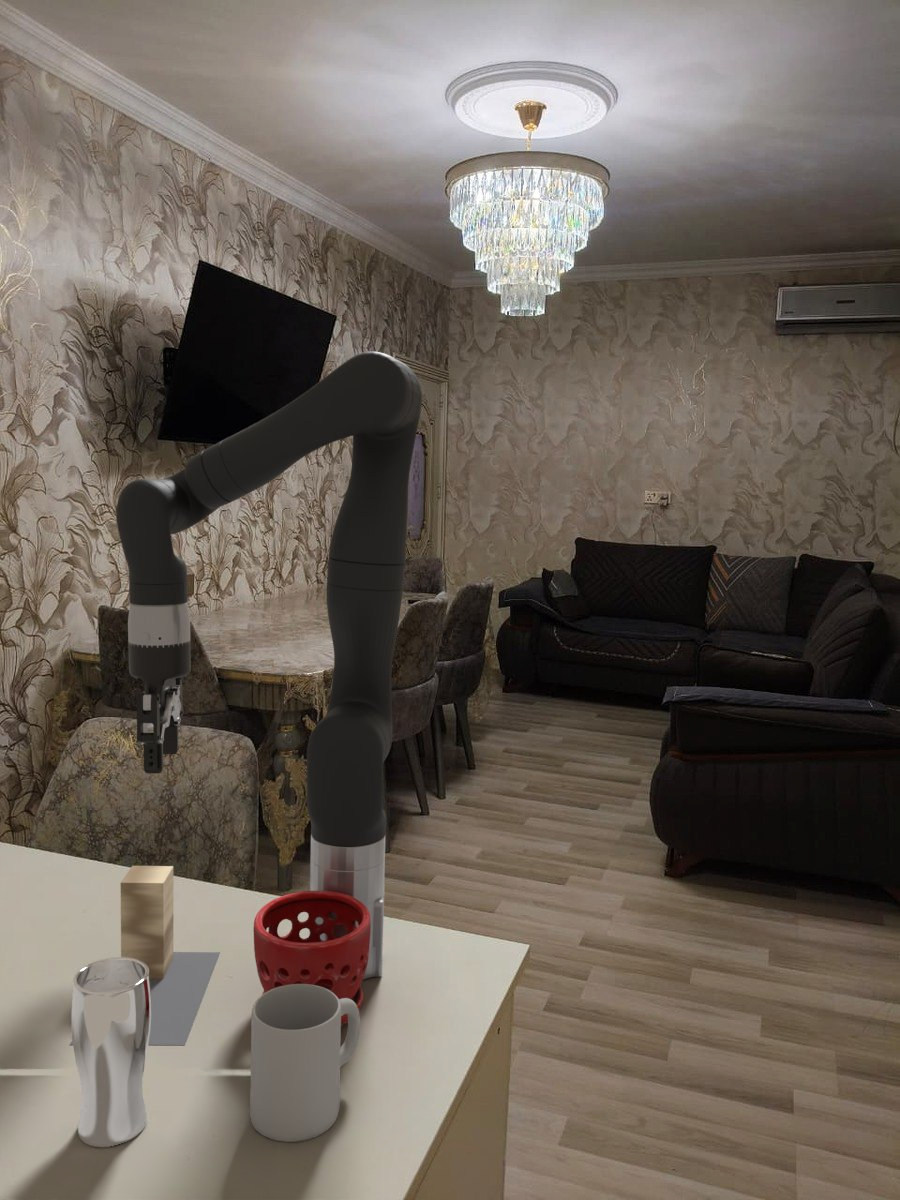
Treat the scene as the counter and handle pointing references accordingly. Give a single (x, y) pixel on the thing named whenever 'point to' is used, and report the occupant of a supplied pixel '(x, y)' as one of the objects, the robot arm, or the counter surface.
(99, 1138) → the beer glass
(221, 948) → the counter surface
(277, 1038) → the mug
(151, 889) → the maple block
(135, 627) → the robot arm
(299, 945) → the plant pot
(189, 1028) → the rubber mat
